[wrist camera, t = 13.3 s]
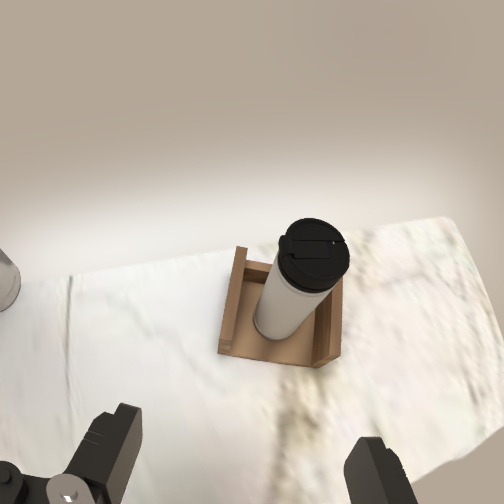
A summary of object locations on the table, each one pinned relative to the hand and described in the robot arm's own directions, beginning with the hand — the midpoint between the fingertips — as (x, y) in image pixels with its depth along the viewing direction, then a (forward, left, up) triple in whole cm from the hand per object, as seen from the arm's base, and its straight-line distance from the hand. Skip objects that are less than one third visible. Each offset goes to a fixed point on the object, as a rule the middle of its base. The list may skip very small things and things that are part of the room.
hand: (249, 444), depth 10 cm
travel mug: (+5, +15, -30) cm, 34 cm away
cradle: (+5, +16, -31) cm, 35 cm away
